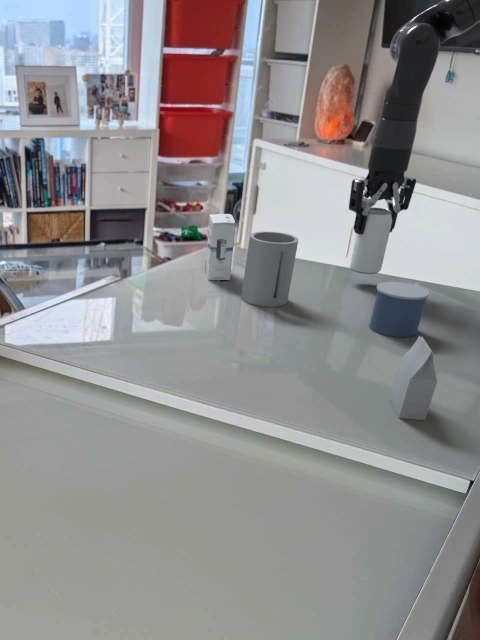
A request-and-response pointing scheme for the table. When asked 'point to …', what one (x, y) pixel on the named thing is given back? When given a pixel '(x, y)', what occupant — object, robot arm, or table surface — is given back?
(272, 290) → the cup
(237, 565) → the table surface
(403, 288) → the yogurt tub
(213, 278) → the ink box
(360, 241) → the can
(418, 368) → the grey milk carton
